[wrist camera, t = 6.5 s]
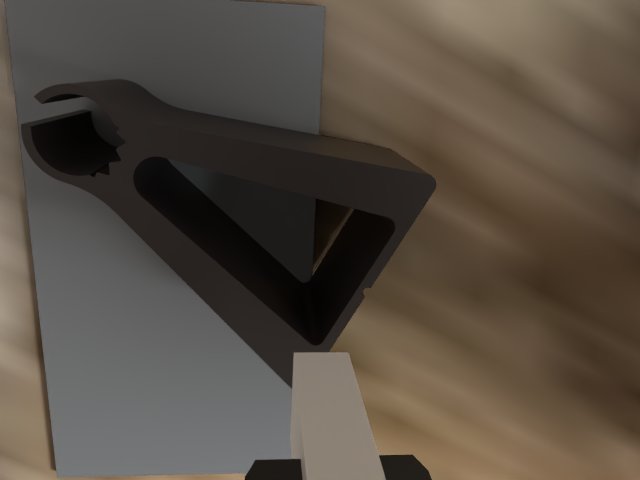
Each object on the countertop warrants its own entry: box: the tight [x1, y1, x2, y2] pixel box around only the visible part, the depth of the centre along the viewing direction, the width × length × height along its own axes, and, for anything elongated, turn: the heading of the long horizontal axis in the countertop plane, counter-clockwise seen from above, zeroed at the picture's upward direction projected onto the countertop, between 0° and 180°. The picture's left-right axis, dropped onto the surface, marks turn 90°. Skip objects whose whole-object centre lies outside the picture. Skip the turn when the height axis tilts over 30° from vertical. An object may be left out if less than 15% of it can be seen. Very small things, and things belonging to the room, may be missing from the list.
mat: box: [4, 0, 325, 478], centre depth 24 cm, size 12×22×1 cm, turn 177°
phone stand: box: [21, 79, 436, 389], centre depth 20 cm, size 9×6×12 cm
